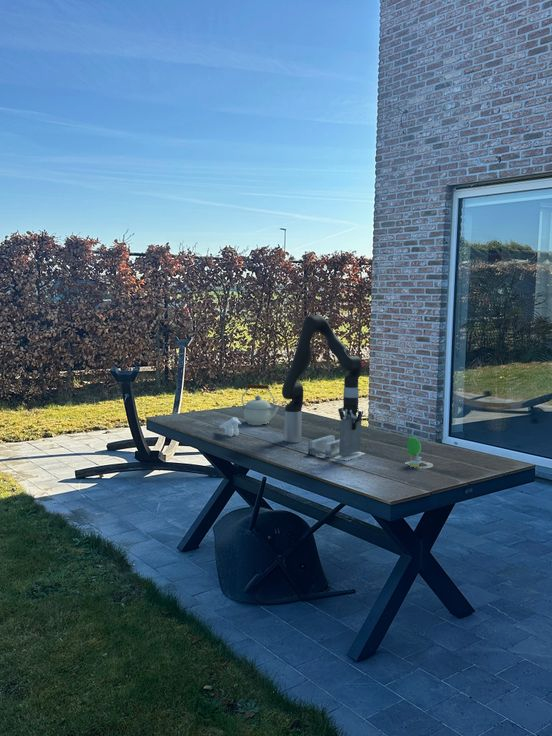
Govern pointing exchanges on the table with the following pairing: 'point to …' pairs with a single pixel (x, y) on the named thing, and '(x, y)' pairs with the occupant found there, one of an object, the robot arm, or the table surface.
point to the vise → (325, 446)
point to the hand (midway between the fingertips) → (350, 429)
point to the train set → (415, 453)
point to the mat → (349, 456)
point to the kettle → (258, 408)
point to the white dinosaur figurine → (231, 427)
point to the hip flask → (349, 437)
